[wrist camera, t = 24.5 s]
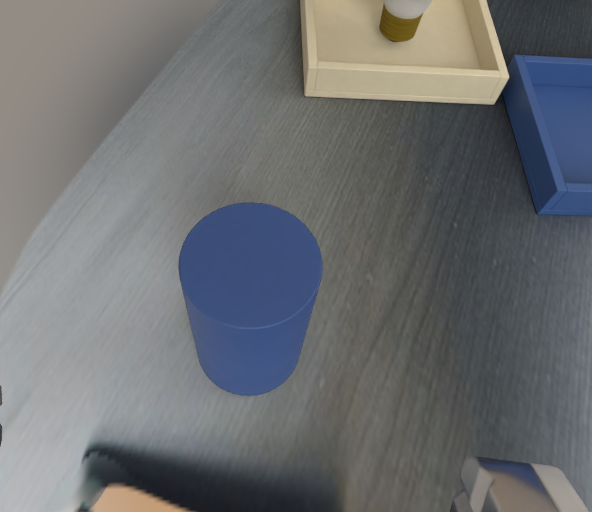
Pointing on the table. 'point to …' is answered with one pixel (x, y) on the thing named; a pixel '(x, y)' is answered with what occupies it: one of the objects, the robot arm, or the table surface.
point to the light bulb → (401, 18)
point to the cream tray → (402, 53)
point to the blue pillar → (249, 294)
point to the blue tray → (553, 130)
